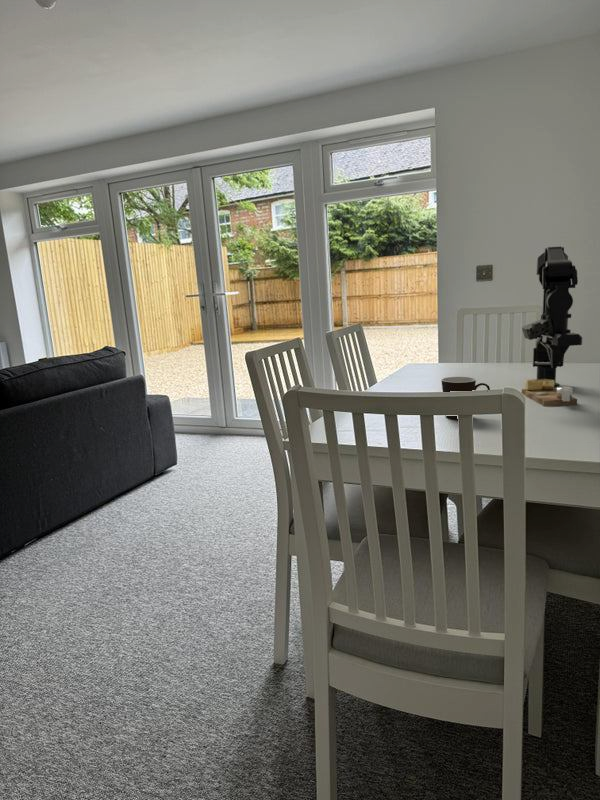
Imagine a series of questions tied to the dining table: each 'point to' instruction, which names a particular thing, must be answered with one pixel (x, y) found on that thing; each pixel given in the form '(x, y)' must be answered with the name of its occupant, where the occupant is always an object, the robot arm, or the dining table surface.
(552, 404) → the copper base
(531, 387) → the brass lever
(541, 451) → the dining table surface
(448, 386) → the coffee mug
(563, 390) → the steel lever handle
